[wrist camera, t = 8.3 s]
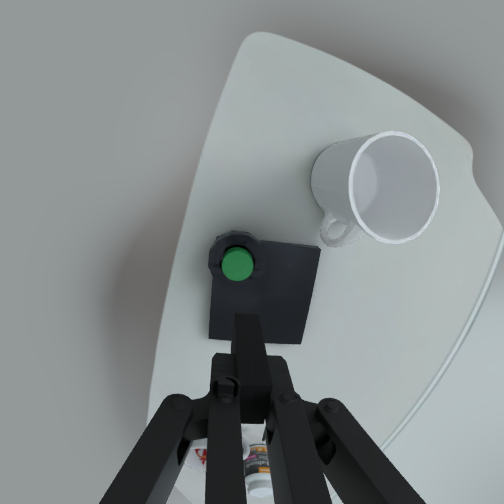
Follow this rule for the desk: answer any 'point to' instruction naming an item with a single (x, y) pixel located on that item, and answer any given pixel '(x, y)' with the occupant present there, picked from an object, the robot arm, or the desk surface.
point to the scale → (263, 287)
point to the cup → (205, 454)
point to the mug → (376, 188)
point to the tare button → (237, 264)
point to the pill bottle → (258, 472)
